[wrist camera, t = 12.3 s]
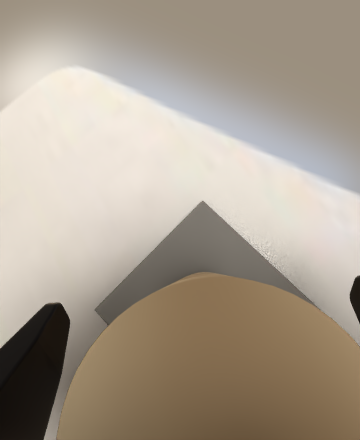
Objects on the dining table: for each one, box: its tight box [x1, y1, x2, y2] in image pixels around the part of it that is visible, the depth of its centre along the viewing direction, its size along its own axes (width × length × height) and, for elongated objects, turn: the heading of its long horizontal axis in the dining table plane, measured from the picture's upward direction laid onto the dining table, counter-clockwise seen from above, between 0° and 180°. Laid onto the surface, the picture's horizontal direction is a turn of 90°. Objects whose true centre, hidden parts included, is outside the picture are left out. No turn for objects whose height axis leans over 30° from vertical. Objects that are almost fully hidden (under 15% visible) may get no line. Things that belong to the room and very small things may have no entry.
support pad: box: [95, 201, 320, 325], centre depth 16 cm, size 9×9×1 cm
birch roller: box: [57, 272, 360, 440], centre depth 10 cm, size 4×4×12 cm
